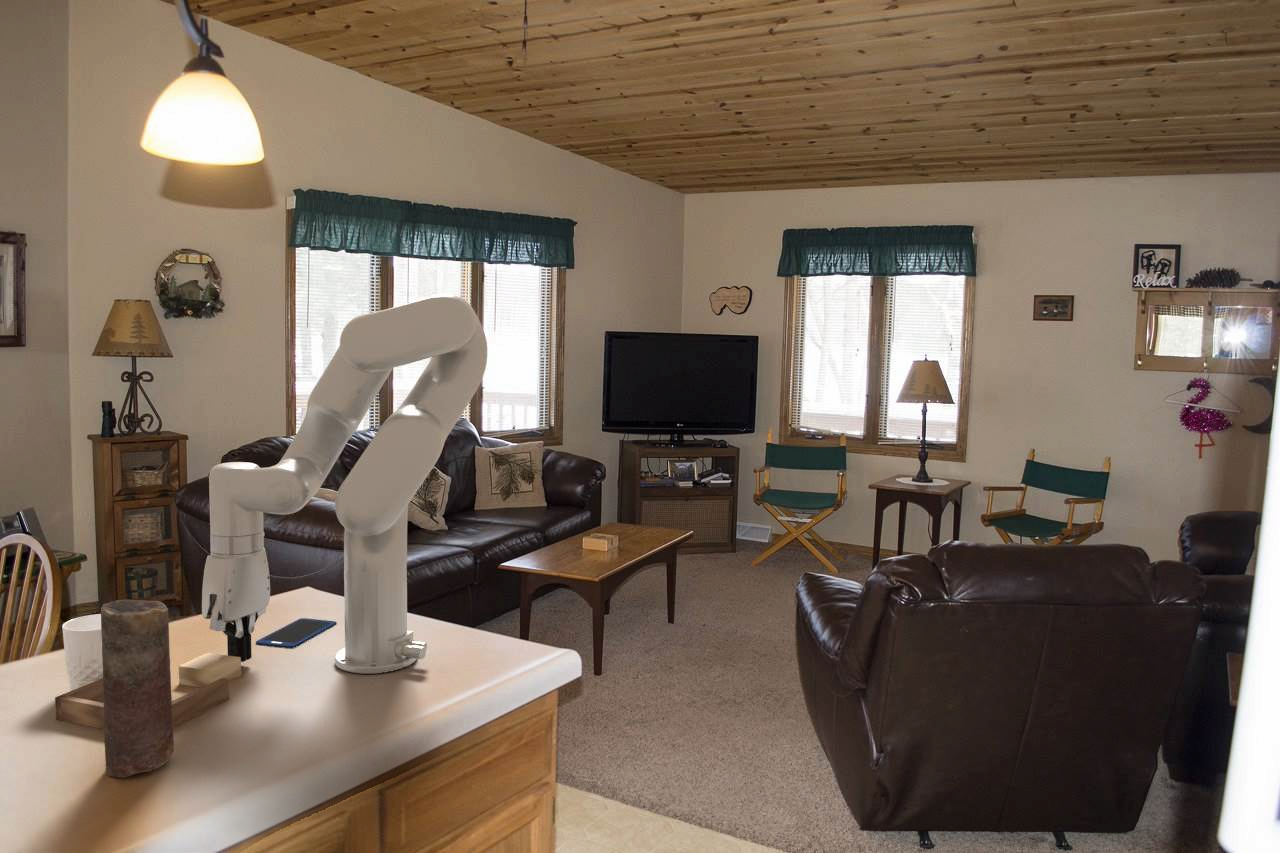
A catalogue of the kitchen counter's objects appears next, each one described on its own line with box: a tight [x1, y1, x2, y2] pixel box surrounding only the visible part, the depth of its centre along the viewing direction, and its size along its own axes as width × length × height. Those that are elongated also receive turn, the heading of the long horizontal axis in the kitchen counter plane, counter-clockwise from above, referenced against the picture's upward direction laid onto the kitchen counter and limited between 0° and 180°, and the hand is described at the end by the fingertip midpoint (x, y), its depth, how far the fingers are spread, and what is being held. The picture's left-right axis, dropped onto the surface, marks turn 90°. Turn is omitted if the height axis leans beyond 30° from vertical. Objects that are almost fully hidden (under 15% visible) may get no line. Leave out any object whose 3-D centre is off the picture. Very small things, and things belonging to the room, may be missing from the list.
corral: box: [54, 678, 230, 730], centre depth 133 cm, size 16×14×3 cm
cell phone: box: [255, 617, 338, 649], centre depth 165 cm, size 7×14×1 cm, turn 167°
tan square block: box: [178, 652, 242, 688], centre depth 144 cm, size 6×6×3 cm
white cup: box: [61, 613, 103, 692], centre depth 139 cm, size 8×8×10 cm
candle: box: [100, 599, 175, 778], centre depth 115 cm, size 8×7×20 cm
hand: (239, 658), depth 150 cm, fingers closed
